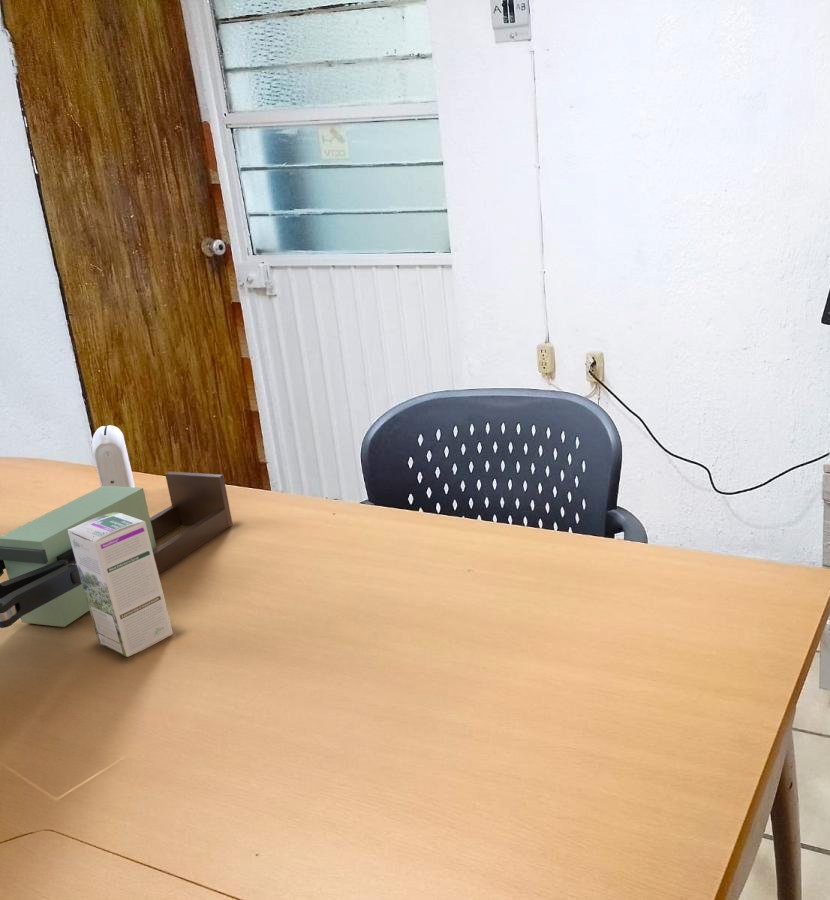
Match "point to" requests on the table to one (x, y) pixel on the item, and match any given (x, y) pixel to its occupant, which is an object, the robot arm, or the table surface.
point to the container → (66, 545)
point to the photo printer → (111, 457)
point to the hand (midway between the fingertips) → (78, 541)
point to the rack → (190, 515)
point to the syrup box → (121, 582)
